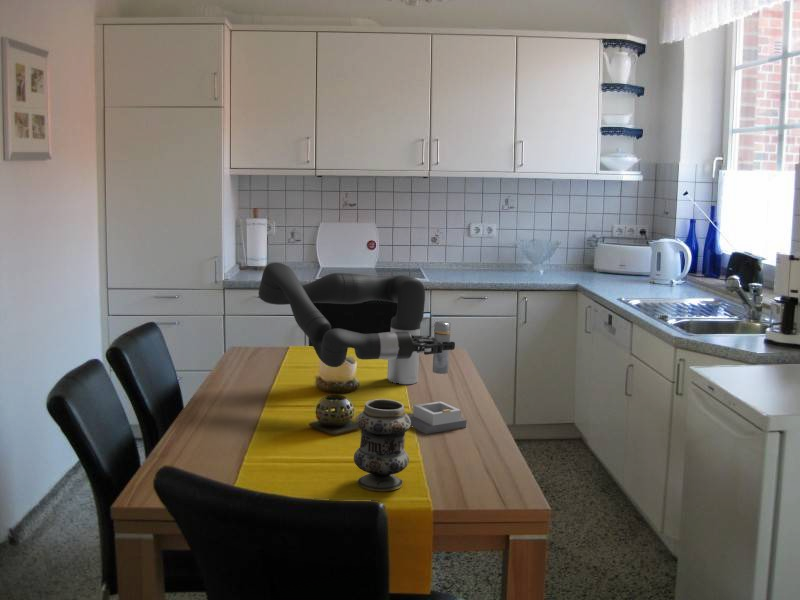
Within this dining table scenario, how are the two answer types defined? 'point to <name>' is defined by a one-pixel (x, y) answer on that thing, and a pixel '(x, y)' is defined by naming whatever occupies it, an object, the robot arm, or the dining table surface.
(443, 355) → the metal canister
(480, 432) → the dining table surface
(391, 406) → the apothecary jar
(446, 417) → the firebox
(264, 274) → the robot arm
